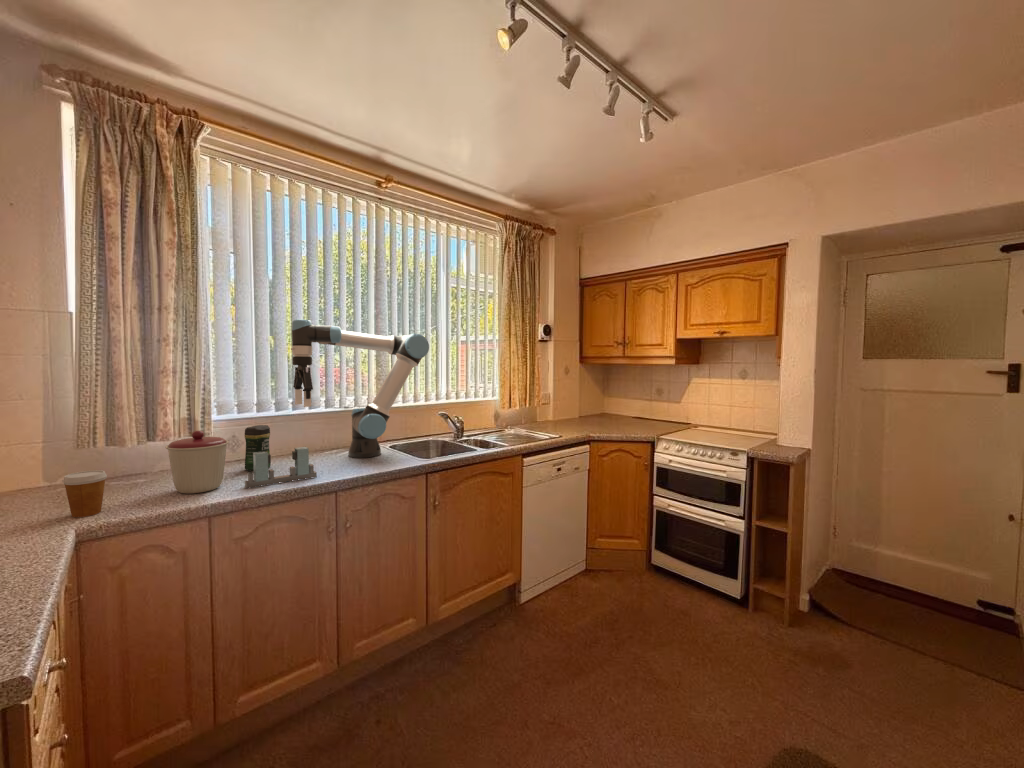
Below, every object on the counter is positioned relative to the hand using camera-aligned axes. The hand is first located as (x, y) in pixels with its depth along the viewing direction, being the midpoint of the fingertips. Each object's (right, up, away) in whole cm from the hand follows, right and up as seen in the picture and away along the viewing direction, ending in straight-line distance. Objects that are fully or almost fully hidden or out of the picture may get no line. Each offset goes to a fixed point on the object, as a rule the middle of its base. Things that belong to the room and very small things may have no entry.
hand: (303, 405), depth 187 cm
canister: (-21, -28, -33) cm, 48 cm away
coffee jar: (-18, -27, -3) cm, 32 cm away
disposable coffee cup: (-36, -30, -58) cm, 75 cm away
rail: (+3, -28, -22) cm, 36 cm away
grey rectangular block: (-2, -26, -27) cm, 38 cm away
